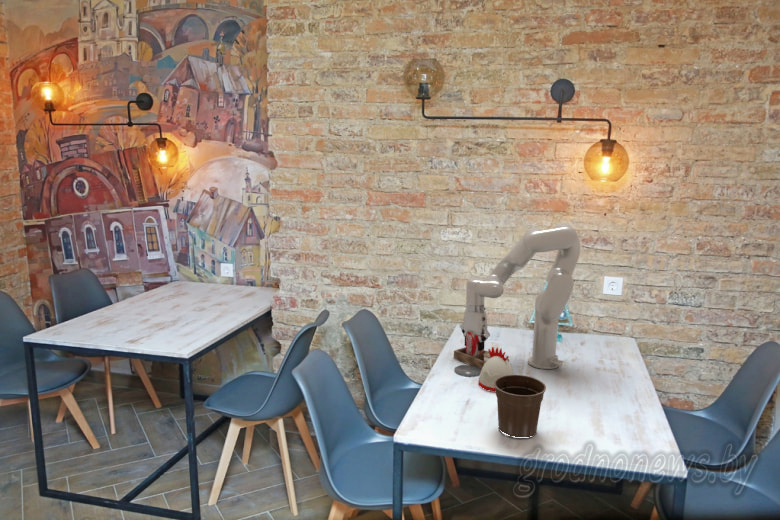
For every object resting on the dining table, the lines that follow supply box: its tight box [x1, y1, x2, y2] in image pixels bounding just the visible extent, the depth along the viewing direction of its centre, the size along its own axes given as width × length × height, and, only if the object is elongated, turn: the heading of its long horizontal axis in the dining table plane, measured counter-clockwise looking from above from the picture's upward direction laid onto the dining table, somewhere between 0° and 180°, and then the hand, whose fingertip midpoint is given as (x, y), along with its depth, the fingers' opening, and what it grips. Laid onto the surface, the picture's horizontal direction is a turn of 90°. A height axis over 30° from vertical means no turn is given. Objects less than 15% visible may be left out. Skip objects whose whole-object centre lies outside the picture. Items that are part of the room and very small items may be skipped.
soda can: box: [465, 331, 483, 357], centre depth 255 cm, size 7×7×12 cm
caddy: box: [453, 346, 510, 370], centre depth 253 cm, size 21×11×4 cm, turn 40°
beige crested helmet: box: [478, 346, 515, 392], centre depth 230 cm, size 14×14×15 cm
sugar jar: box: [484, 351, 491, 362], centre depth 249 cm, size 5×5×6 cm
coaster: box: [453, 364, 481, 378], centre depth 244 cm, size 11×11×1 cm
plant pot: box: [494, 374, 547, 437], centre depth 194 cm, size 16×16×16 cm
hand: (474, 347), depth 256 cm, fingers closed on soda can, 7 cm apart
